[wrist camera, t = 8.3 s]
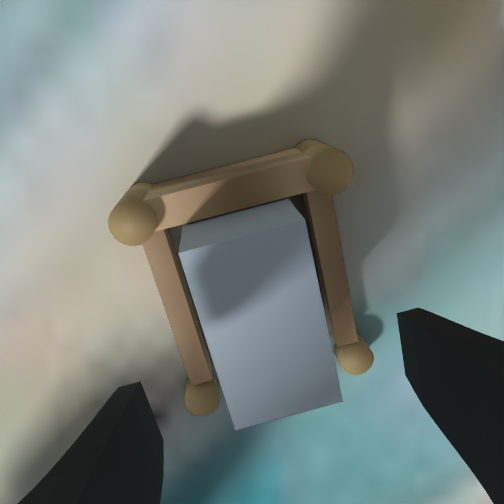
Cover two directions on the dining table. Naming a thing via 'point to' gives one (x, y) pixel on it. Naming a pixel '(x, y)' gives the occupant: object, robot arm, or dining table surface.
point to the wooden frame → (231, 199)
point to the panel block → (261, 311)
